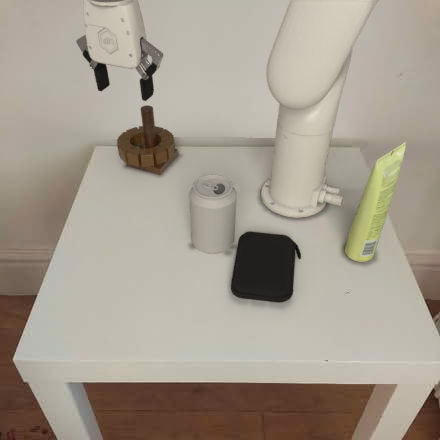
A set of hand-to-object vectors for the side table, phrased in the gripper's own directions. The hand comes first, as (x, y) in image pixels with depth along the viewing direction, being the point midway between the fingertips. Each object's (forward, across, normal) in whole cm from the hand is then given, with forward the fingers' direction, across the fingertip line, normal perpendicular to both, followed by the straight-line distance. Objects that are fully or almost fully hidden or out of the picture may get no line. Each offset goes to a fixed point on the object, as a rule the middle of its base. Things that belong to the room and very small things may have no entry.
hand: (125, 93), depth 87 cm
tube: (+14, +50, -10) cm, 53 cm away
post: (+14, +4, 0) cm, 14 cm away
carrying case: (+14, +37, -21) cm, 45 cm away
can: (+14, +26, -18) cm, 35 cm away
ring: (+12, +3, +1) cm, 12 cm away
